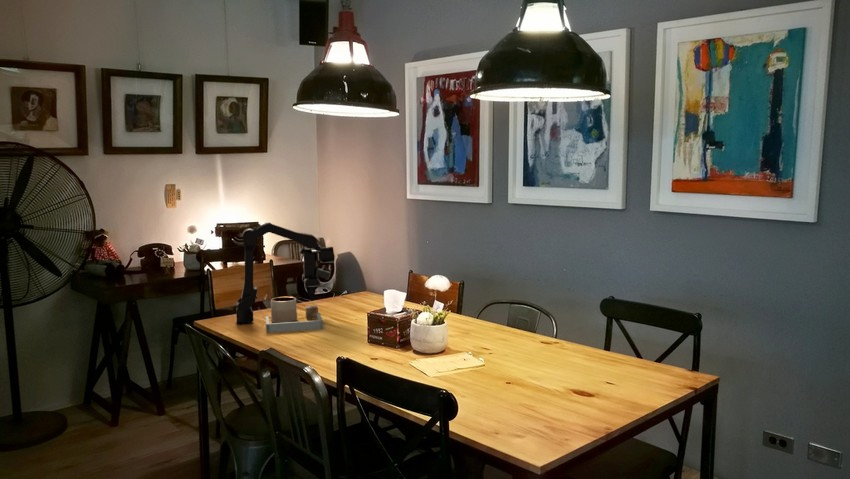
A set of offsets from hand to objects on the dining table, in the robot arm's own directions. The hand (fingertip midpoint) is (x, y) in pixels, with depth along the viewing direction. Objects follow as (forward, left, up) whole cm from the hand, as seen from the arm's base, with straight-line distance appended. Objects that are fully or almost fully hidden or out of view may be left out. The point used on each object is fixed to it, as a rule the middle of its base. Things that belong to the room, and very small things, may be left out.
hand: (311, 298), depth 294 cm
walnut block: (0, 0, -8) cm, 9 cm away
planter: (-12, -2, -9) cm, 15 cm away
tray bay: (-8, -15, -8) cm, 19 cm away
